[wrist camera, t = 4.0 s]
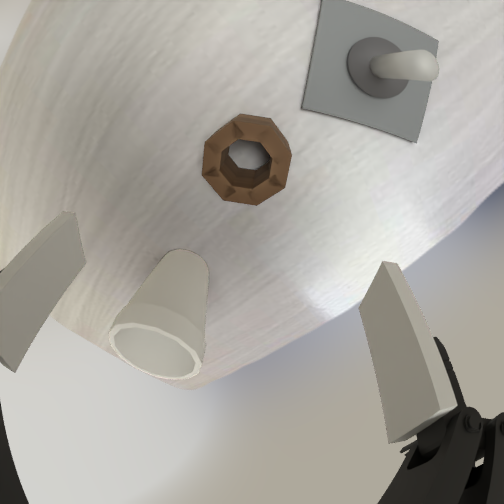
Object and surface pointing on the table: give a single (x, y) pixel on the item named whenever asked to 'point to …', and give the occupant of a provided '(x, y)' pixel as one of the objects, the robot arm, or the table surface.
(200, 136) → the table surface
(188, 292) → the foam cup
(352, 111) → the grey peg stand
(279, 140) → the brown faceted ring
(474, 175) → the table surface
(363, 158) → the table surface
